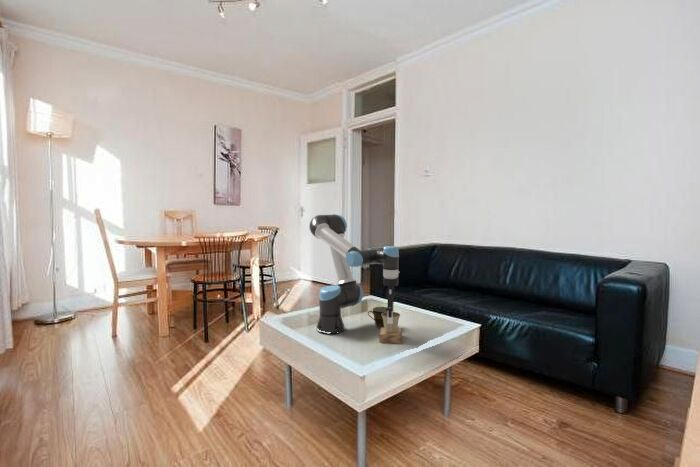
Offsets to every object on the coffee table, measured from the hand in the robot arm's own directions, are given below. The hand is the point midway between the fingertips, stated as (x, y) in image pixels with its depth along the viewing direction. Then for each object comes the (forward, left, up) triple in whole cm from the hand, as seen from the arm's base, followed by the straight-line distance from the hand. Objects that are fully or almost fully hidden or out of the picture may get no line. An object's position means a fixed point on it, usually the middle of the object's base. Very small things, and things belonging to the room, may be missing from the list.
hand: (390, 319), depth 180 cm
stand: (0, 0, -10) cm, 10 cm away
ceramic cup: (-7, +18, -10) cm, 22 cm away
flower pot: (0, 0, -6) cm, 6 cm away
